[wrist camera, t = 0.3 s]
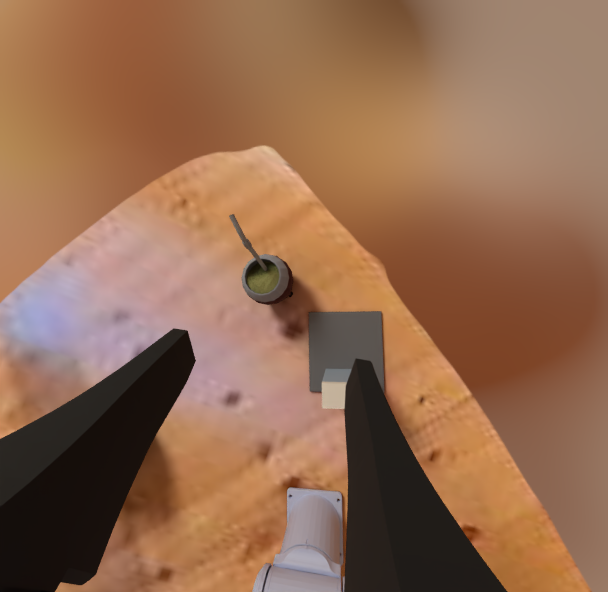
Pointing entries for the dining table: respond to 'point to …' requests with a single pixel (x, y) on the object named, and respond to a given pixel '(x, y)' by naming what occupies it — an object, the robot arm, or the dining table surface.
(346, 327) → the mat
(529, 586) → the dining table surface
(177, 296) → the dining table surface
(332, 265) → the dining table surface
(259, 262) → the mate gourd
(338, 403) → the slab
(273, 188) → the dining table surface
